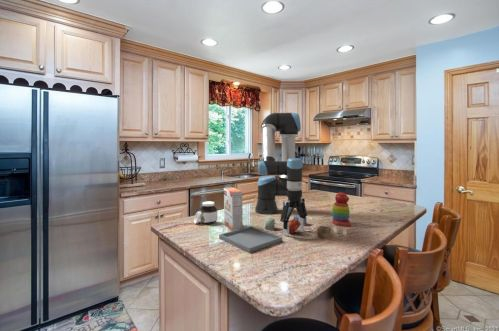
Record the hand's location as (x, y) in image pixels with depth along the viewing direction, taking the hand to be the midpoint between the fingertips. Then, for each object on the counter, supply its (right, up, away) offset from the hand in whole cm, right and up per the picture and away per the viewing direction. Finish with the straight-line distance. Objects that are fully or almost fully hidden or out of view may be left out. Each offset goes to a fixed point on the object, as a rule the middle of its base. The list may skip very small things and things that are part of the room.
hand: (293, 232), depth 133 cm
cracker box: (-31, 0, +9) cm, 33 cm away
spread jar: (-48, +1, +17) cm, 51 cm away
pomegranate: (0, 0, 0) cm, 1 cm away
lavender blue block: (+6, +1, +16) cm, 17 cm away
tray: (-22, -1, -10) cm, 24 cm away
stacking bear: (+30, +1, +16) cm, 34 cm away
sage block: (-12, 0, +7) cm, 14 cm away
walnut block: (+14, -1, -5) cm, 15 cm away
